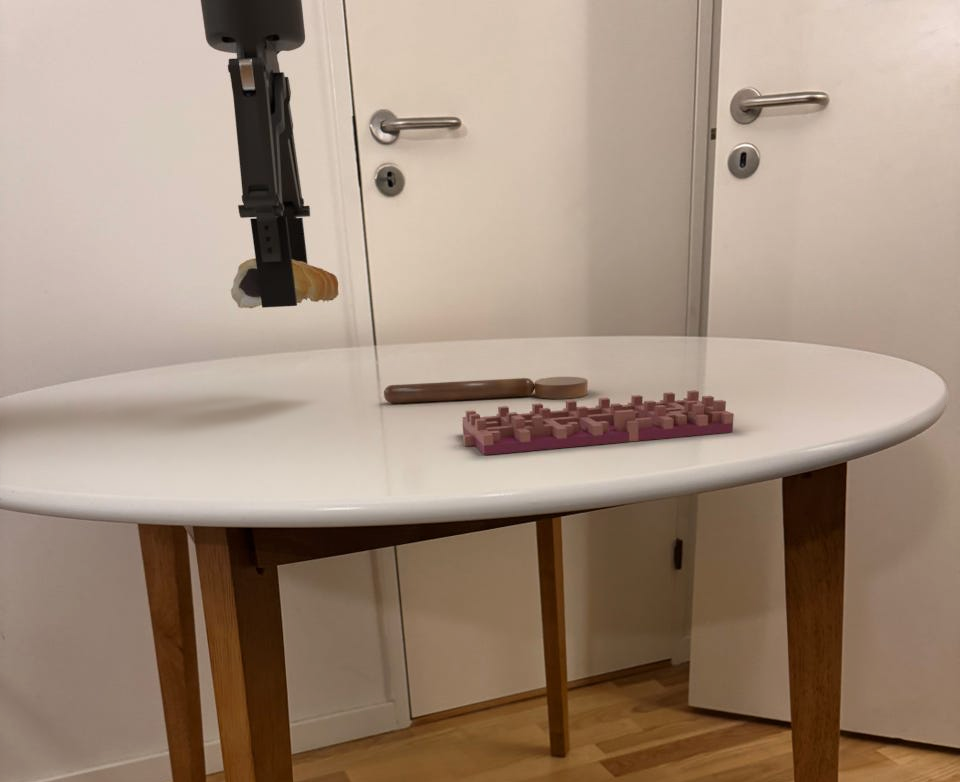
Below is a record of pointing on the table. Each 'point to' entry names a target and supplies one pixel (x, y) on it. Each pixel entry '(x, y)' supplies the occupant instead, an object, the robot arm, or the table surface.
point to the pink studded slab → (596, 424)
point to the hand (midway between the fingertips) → (288, 301)
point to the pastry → (306, 281)
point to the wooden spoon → (488, 389)
